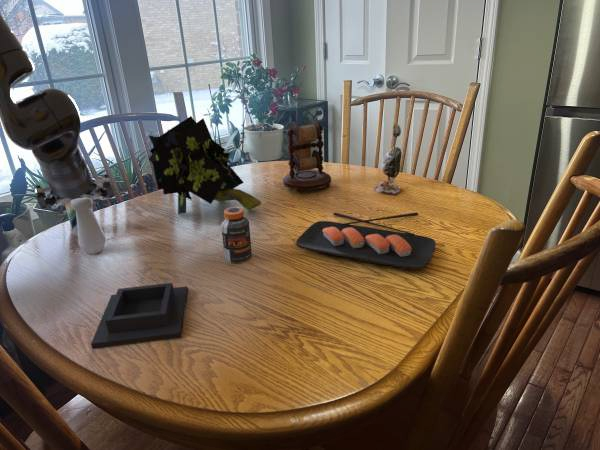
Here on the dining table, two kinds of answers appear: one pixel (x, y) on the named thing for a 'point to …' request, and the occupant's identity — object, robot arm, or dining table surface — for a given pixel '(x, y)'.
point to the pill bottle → (236, 236)
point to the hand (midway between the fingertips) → (82, 206)
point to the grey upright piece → (391, 166)
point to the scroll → (305, 158)
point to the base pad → (142, 315)
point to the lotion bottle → (72, 217)
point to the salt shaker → (88, 226)
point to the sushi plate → (369, 242)
